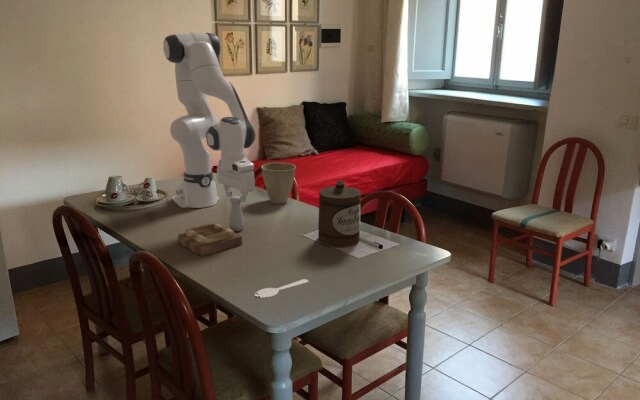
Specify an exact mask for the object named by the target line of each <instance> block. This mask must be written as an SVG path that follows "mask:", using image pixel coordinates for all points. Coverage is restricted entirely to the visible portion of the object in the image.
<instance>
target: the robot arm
mask: <svg viewBox="0 0 640 400" xmlns="http://www.w3.org/2000/svg"><path fill="white" fill-rule="evenodd" d="M162 46H163V47H162V48H163V49H162V50H163V53H164V56H165V58H166V59H167V61H169V62H170V63H174V64H175V65H174V73H175V74H174V75H175V84H176V92H177V98H178V101H179V102H180V103H181V104H182V105H183V106H184V107H185V110H186V113H187V115H183V116H180V117H178V118H176V119H175V120H173V121H172V122H171V124H170V128H169V129H170V130H169V131H170V136H171V137H172V139H173V140H174V141H176V142H177V143H178V145H179V146H180V148H181V151H182V155H183V161H184V170H185V171H184V172H183V174H182V175H183V181H181V182H180V184H179V185H178V186H177V187H176V189H175V194H176V195H174V196H172V197H171V200H172V201H173V202H174V203H175V204H176V205H178V206H179V208H182V209H183V208H191V209H192V208H193V209H195V208H196V209H197V208H198V209H200V208H201V209H202V208H208V207H213V206H214V205H216V204H217V203H218V201H219V200H221V199H220V196H218V193H217V185H216V182H215V181H214V180H213V179H214V174H213V170H212V156H211V152H209V150H207V149H206V148H205V145H204V141H203V139H205V140H206V144H207V146H208V147H209V148H210V149H211V150H213V151H216V152H217V151H220V159H219V161H218V165H217V167H216V180H217V183H218V184H220V185H223V189H224V191H225V196H226V197H228V198H231V197H232V196H233V191H231V188H232V189H235V190H238V191H240V193H241V194H240V195H241V196H240V201H241V203H245V202H247V196H248V193H250V192H253V191H254V190H255V186H256V184H255V173H254V169H255V164H254V163H253V162H252V161H250V159H248V157H247V155H246V151H245V149H249V148H251V147H252V145H253V144H254V142H255V141H256V131H255V128H254V127H253V125H252V123H251V121H250V120H249V119H248V116H247V113H246V111H245V109H244V106H243V104H242V101H241V99H240V96H239V94H238V93H237V90H236V88H235V86H234V84H233V83H232V82H230V81H229V80H227V78H226V77H225V76H224V74H223V72H222V70H221V66H220V62H219V59H218V57H219V56H220V54H221V42H220V40H219V37H218V36H217V35H216V34H215V33H210V32H206V33H205V32H190V33H179V34H170V35H167V36H165V38H164V40H163V45H162ZM207 96H210V97H214V98H216V99H218V100H221V101H223V102H224V103H225V104H226V105H227V107H228V110H229V112H230V114H231V116H224V117H222V118H220V120H219V118H218V117H217V115H215V114H214V113H213V111H212V110H211V107H210V105H209V103H208V100H207Z"/></svg>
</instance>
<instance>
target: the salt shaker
mask: <svg viewBox="0 0 640 400" xmlns="http://www.w3.org/2000/svg"><path fill="white" fill-rule="evenodd" d="M240 197H241V196H239V195H232V196H231V197H229V202H230V204H231V205H230V206H231V207H230V214H229V221H228V226H229V229H231V230H233V231H234V232H240V231H243V230H244V229H243V228H244V227H245V226H244V225H245V220H244V215H243V212H242V211H243V210H242V207H241V203H242V202H241V201H240Z"/></svg>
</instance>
